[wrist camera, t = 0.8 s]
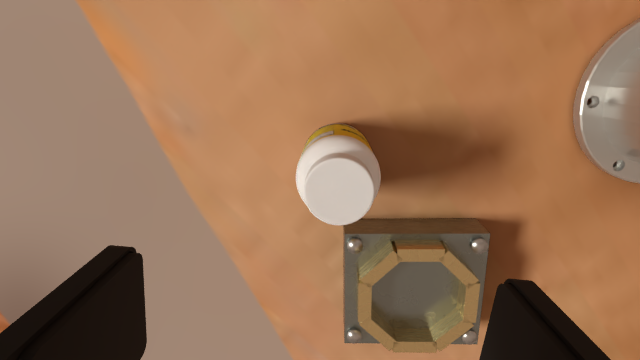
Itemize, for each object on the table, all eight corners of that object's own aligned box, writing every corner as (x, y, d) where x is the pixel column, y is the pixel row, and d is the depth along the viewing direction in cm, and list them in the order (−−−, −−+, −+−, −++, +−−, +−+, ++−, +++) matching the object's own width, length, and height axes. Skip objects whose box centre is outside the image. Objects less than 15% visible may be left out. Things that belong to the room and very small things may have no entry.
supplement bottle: (383, 164, 30) (406, 207, 21) (327, 199, 31) (324, 255, 22) (347, 107, 29) (353, 126, 20) (290, 145, 30) (270, 180, 21)
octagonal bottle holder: (475, 218, 31) (499, 242, 27) (465, 321, 34) (484, 358, 30) (343, 218, 32) (345, 243, 27) (343, 320, 34) (345, 357, 30)
